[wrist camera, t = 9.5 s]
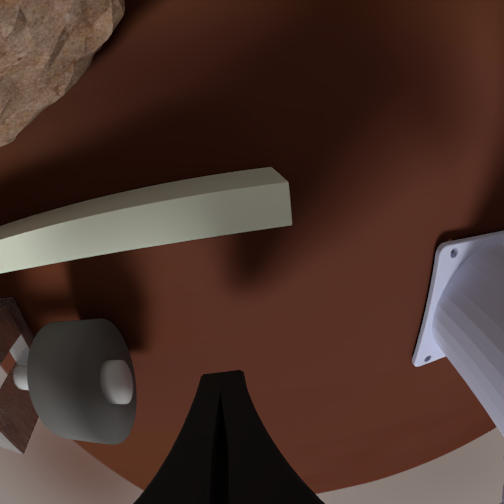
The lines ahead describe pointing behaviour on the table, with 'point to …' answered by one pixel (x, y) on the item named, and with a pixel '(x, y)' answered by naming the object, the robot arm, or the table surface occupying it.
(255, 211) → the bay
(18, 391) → the axle mount
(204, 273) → the table surface
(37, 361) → the wheel
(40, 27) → the stone
